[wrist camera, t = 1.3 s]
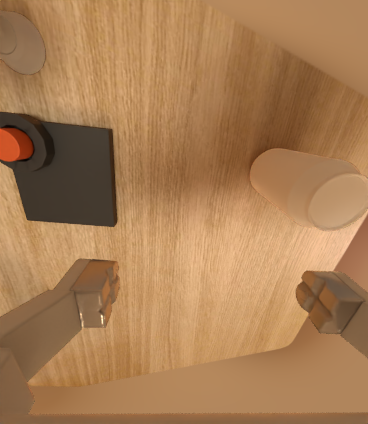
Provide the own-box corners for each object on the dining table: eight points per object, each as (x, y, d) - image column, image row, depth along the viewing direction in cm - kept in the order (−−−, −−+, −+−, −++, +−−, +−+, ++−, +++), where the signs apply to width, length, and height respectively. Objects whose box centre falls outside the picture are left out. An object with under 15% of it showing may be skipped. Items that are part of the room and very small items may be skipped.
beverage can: (254, 199, 27) (307, 248, 16) (241, 160, 24) (292, 187, 13) (296, 180, 26) (384, 219, 15) (286, 138, 23) (383, 147, 12)
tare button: (-2, 126, 19) (-21, 126, 18) (30, 129, 20) (14, 129, 18) (7, 157, 21) (-10, 159, 19) (37, 160, 21) (23, 163, 19)
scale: (1, 111, 21) (-25, 108, 18) (112, 124, 22) (102, 123, 19) (30, 215, 27) (13, 225, 24) (117, 222, 28) (110, 232, 25)
